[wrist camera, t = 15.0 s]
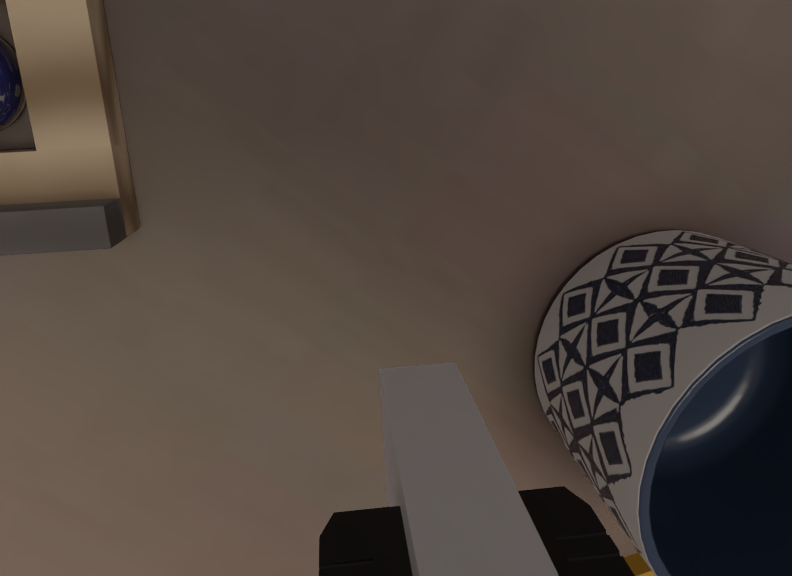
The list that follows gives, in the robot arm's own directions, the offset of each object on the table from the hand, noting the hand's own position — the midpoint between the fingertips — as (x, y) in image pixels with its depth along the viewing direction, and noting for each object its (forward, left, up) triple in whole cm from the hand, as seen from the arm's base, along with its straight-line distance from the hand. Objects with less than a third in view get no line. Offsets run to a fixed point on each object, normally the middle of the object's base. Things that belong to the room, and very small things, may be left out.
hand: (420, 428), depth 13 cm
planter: (+10, +18, -25) cm, 32 cm away
